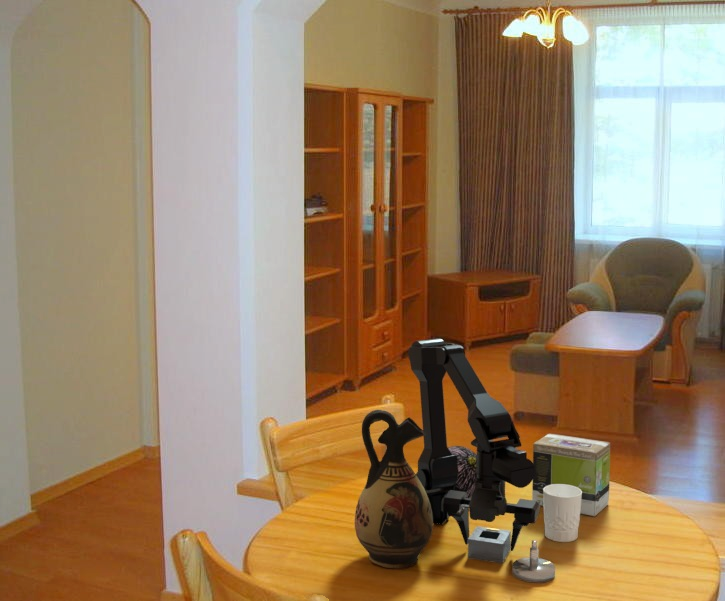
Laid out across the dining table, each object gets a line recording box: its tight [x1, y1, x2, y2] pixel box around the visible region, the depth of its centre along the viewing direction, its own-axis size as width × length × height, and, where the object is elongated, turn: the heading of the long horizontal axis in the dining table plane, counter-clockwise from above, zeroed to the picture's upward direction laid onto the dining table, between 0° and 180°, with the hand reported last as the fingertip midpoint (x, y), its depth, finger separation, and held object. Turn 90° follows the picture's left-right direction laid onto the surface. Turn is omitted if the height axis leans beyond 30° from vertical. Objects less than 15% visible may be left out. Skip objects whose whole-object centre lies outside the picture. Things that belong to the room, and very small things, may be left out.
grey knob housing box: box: [467, 525, 512, 564], centre depth 195 cm, size 7×7×4 cm
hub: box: [511, 539, 556, 584], centre depth 186 cm, size 8×8×6 cm
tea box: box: [531, 432, 611, 517], centre depth 221 cm, size 15×10×15 cm
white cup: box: [543, 484, 582, 543], centre depth 203 cm, size 8×8×10 cm
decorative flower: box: [447, 445, 477, 498], centre depth 228 cm, size 14×12×15 cm
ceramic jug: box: [346, 409, 434, 570], centre depth 191 cm, size 17×15×30 cm
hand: (489, 547), depth 195 cm, fingers open, 9 cm apart
